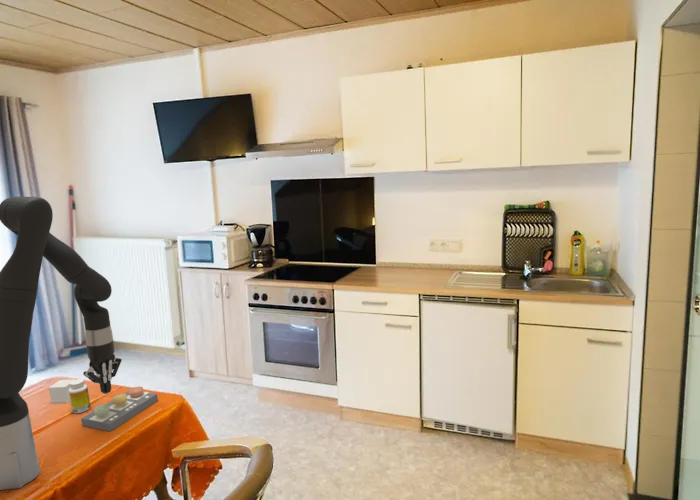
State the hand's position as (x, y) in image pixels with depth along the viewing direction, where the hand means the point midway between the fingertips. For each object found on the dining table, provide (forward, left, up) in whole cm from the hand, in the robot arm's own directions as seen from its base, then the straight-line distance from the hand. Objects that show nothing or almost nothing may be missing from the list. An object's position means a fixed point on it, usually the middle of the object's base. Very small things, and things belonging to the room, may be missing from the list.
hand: (106, 392), depth 150 cm
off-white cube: (+19, +23, -10) cm, 31 cm away
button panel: (+4, -2, -9) cm, 10 cm away
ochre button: (+4, -2, -5) cm, 7 cm away
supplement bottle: (+9, +13, -10) cm, 18 cm away
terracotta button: (+10, -5, -6) cm, 13 cm away
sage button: (-2, +1, -5) cm, 6 cm away
